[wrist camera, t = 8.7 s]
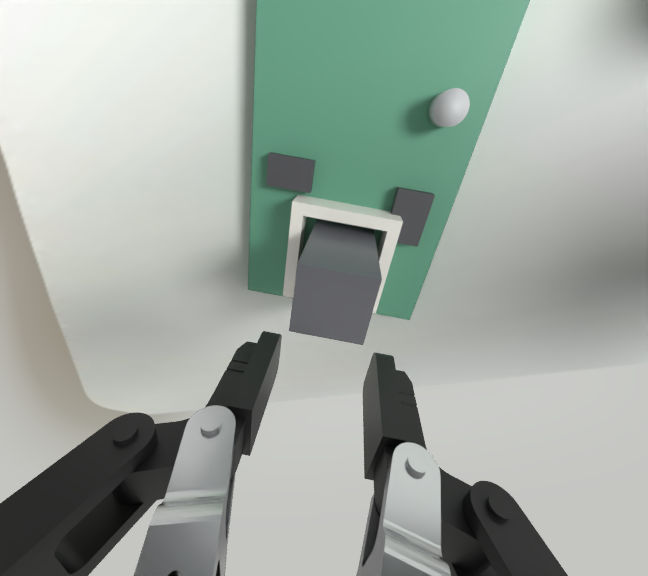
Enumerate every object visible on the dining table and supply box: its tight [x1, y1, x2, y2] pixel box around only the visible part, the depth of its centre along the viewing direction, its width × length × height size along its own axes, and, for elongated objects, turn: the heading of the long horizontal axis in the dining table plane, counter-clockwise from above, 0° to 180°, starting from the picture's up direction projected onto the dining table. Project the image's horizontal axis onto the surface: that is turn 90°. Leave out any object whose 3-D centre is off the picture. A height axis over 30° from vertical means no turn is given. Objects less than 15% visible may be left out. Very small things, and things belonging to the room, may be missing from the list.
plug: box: [289, 219, 382, 345], centre depth 19 cm, size 4×4×8 cm
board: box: [248, 0, 530, 320], centre depth 18 cm, size 14×24×3 cm, turn 171°
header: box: [283, 194, 403, 314], centre depth 21 cm, size 7×7×2 cm
